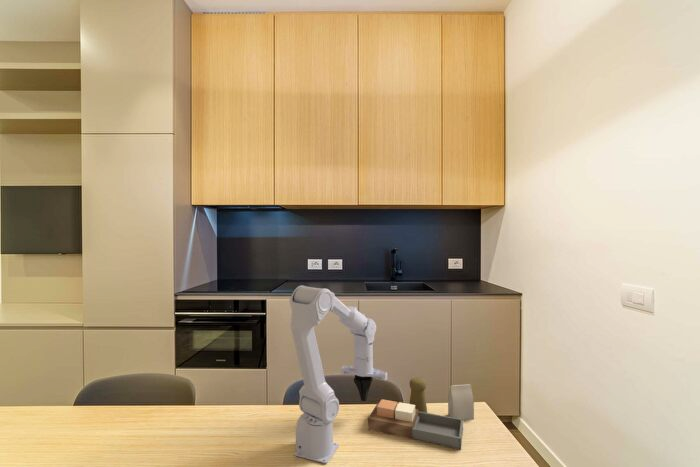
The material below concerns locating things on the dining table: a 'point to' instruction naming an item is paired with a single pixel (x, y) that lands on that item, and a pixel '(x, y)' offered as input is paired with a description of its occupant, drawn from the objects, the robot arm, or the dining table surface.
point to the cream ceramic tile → (405, 412)
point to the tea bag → (461, 402)
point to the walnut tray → (391, 424)
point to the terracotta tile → (386, 408)
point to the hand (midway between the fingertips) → (364, 399)
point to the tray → (438, 430)
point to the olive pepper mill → (418, 394)
